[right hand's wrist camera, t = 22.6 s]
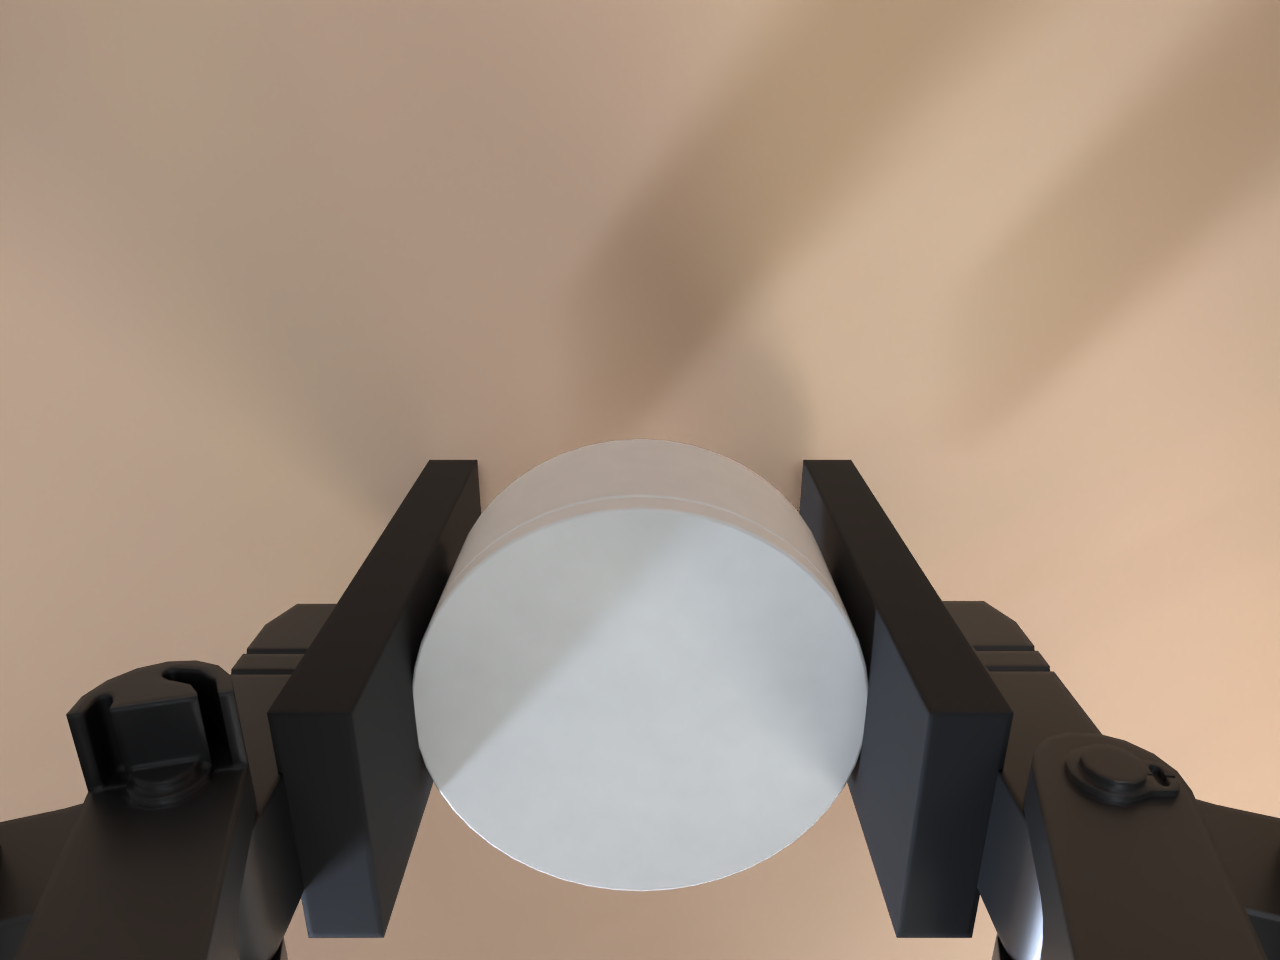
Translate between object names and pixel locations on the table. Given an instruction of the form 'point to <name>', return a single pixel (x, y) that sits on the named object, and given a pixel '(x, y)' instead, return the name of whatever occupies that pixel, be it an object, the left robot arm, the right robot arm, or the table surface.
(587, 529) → the lid
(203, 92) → the table surface
